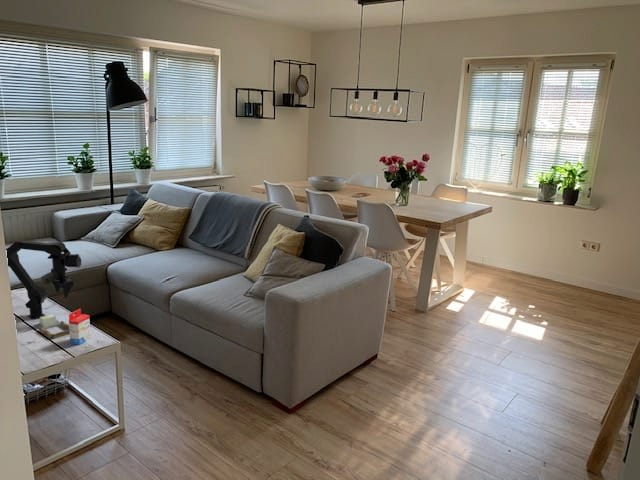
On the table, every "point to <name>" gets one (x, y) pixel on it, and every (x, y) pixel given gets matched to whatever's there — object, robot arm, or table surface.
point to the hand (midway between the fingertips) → (61, 295)
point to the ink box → (79, 327)
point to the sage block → (47, 320)
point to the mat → (49, 325)
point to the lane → (56, 333)
